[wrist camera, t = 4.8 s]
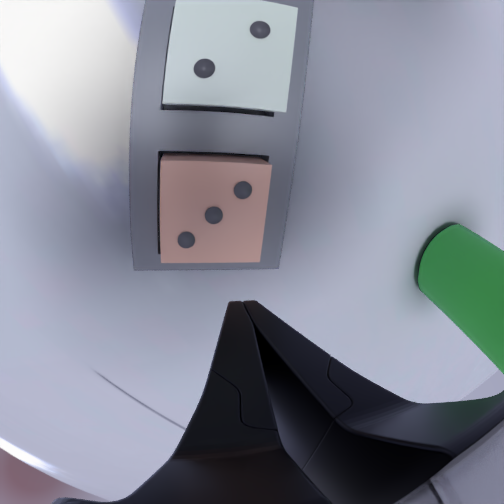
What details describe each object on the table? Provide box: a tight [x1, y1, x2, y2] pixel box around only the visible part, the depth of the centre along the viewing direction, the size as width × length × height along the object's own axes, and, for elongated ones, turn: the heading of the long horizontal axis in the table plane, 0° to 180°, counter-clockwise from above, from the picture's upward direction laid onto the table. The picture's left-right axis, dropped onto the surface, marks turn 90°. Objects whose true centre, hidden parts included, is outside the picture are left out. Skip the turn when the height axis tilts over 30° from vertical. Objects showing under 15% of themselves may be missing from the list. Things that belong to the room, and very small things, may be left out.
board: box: [129, 0, 314, 270], centre depth 15 cm, size 10×27×2 cm, turn 174°
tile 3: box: [160, 153, 272, 263], centre depth 18 cm, size 6×6×3 cm
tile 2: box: [162, 0, 298, 112], centre depth 13 cm, size 6×6×3 cm
